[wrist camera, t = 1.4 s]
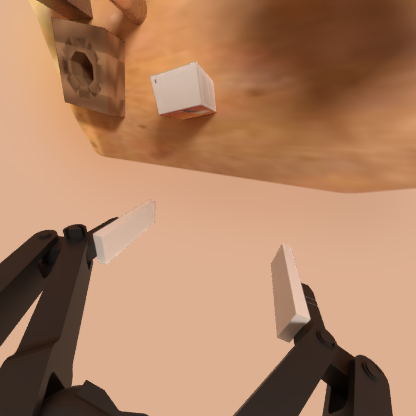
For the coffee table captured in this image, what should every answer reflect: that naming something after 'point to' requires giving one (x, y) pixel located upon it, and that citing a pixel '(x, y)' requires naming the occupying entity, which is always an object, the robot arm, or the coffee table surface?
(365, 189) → the coffee table surface
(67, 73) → the socket block
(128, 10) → the round peg
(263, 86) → the coffee table surface
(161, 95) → the small box
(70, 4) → the square block
